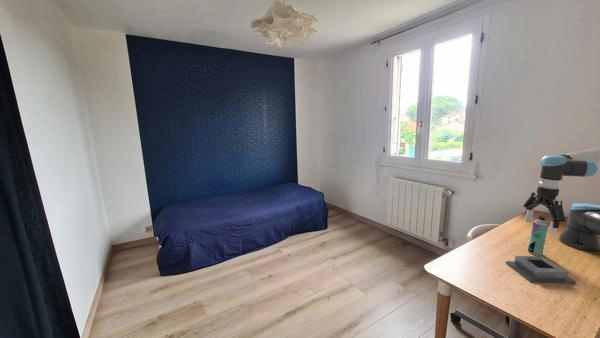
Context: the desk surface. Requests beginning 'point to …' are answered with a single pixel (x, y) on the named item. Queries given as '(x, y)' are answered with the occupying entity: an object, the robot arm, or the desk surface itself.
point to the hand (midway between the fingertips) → (539, 227)
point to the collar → (539, 270)
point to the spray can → (538, 236)
